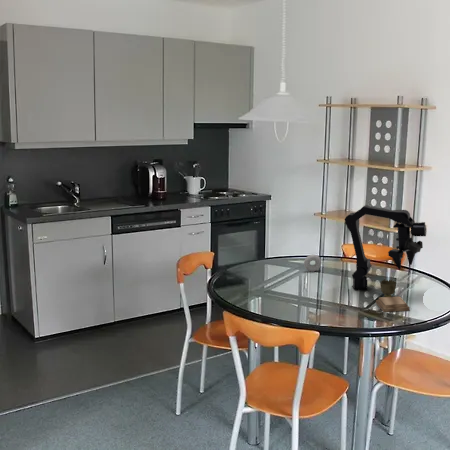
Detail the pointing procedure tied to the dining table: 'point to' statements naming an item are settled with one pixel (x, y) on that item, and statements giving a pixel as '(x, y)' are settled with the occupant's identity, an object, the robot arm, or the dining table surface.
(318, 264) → the donut
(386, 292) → the cup
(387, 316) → the dining table surface
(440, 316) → the dining table surface
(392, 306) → the plinth
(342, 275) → the dining table surface
